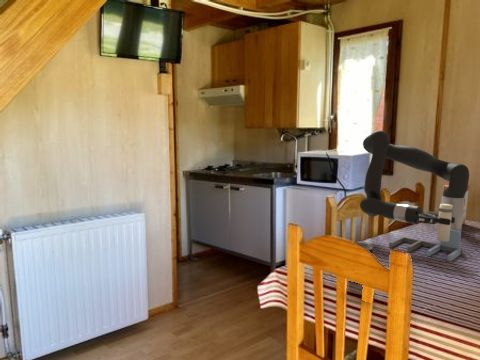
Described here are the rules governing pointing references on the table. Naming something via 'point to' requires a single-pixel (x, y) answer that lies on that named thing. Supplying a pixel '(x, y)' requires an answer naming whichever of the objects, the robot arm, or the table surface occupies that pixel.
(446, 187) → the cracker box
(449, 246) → the cable comb
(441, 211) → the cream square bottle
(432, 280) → the table surface
